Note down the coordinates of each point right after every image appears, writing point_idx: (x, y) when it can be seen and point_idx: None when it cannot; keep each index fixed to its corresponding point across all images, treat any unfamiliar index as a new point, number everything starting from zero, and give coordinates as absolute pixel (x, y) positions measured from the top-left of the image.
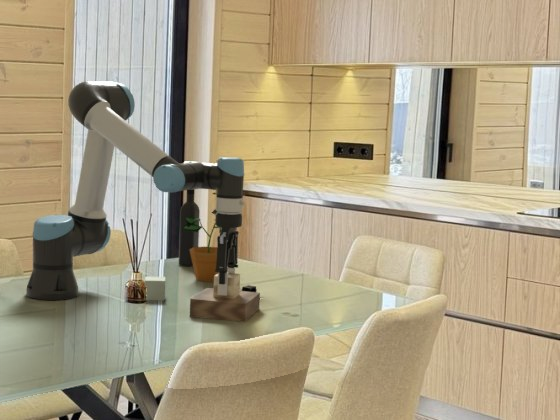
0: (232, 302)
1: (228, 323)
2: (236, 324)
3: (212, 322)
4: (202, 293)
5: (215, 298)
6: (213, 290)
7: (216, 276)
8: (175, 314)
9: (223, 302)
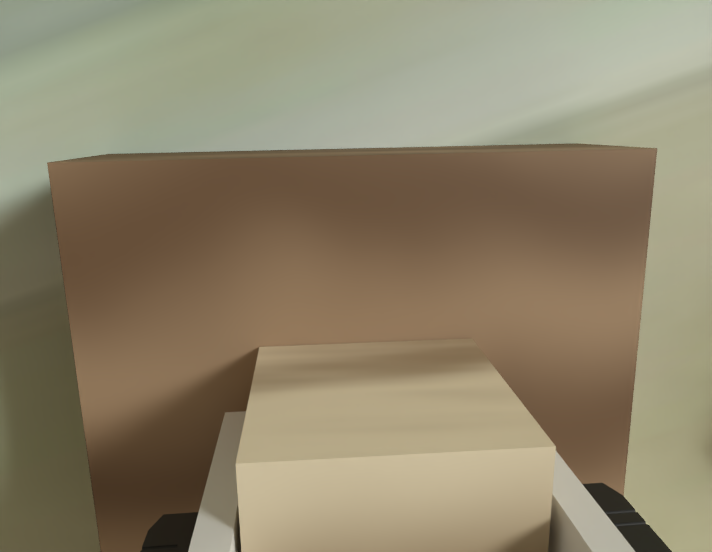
0: None
1: (51, 489)
2: (54, 543)
3: (16, 382)
4: (364, 195)
5: (200, 389)
6: (255, 372)
7: (240, 495)
8: (112, 11)
9: (95, 498)
